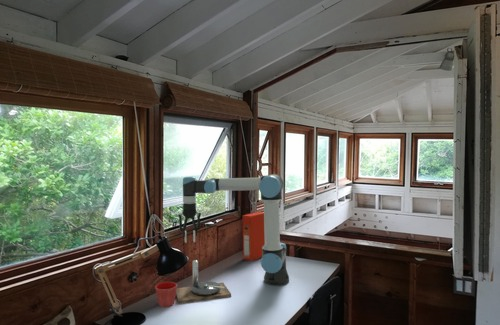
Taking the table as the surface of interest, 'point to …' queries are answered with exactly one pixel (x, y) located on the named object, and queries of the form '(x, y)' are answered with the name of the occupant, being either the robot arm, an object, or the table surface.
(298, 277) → the table surface
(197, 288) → the wheel
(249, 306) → the table surface
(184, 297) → the walnut base board
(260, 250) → the file binder
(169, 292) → the flower pot
